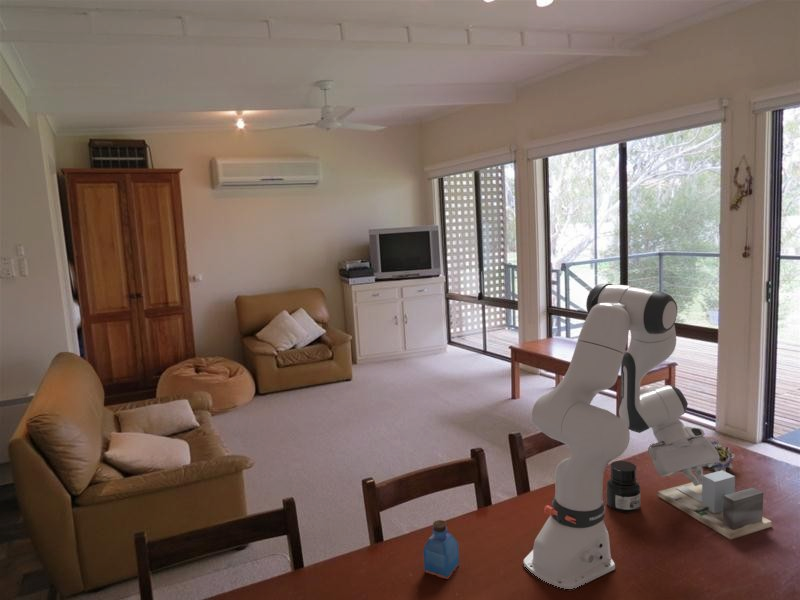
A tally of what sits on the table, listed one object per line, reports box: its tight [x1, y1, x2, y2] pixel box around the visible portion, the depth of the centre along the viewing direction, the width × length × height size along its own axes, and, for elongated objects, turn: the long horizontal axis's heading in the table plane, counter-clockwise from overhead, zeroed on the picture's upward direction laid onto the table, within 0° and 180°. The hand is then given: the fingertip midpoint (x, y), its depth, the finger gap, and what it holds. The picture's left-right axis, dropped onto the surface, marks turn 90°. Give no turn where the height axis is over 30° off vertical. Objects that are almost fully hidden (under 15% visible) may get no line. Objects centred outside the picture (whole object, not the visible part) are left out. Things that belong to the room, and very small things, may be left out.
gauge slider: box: [696, 470, 736, 513], centre depth 149 cm, size 6×11×9 cm, turn 109°
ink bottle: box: [606, 460, 641, 513], centre depth 158 cm, size 10×9×12 cm
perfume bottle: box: [422, 519, 460, 577], centre depth 134 cm, size 6×6×12 cm
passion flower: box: [705, 437, 736, 473], centre depth 177 cm, size 11×11×12 cm
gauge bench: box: [657, 481, 772, 540], centre depth 153 cm, size 24×14×10 cm, turn 19°
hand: (700, 484), depth 156 cm, fingers closed
